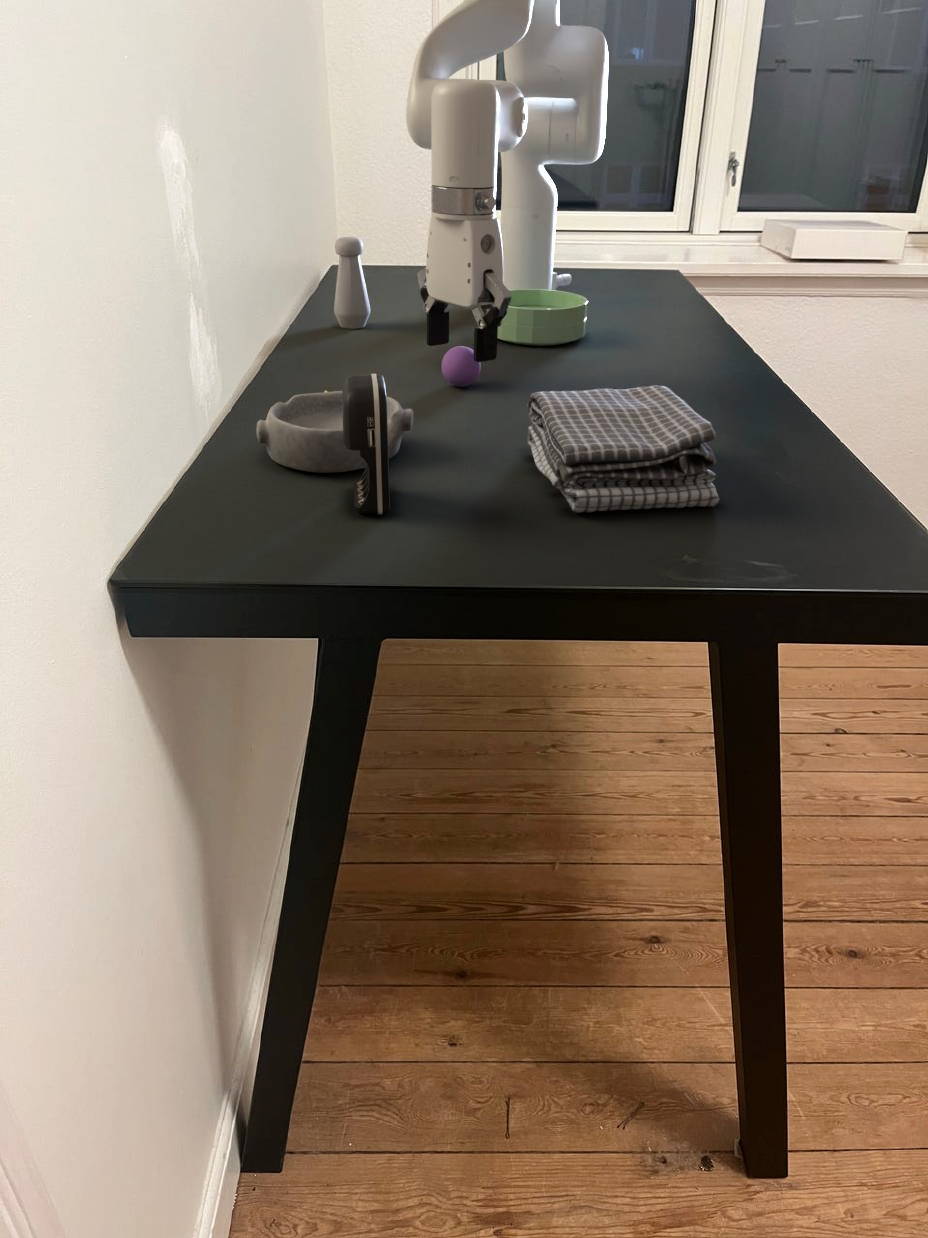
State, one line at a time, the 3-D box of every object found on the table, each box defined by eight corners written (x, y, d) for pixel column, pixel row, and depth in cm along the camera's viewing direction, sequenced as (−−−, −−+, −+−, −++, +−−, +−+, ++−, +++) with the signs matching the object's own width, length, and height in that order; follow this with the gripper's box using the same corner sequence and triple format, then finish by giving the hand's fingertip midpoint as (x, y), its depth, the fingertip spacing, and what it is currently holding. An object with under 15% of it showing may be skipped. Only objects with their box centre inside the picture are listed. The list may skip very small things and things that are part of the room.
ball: (464, 378, 120) (465, 339, 118) (488, 387, 117) (489, 347, 114) (433, 384, 118) (433, 344, 115) (457, 393, 114) (457, 353, 112)
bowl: (539, 320, 150) (541, 285, 148) (605, 338, 140) (608, 301, 137) (466, 332, 142) (466, 295, 140) (530, 352, 132) (532, 313, 129)
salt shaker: (374, 322, 147) (371, 235, 140) (367, 330, 142) (364, 241, 136) (338, 320, 148) (334, 234, 141) (330, 329, 143) (325, 239, 136)
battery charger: (346, 488, 87) (340, 369, 81) (386, 487, 88) (382, 368, 82) (347, 519, 81) (340, 392, 75) (390, 517, 82) (386, 391, 76)
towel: (656, 444, 99) (665, 372, 95) (721, 512, 84) (736, 429, 80) (519, 449, 97) (523, 376, 93) (560, 520, 82) (567, 435, 78)
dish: (425, 444, 98) (424, 398, 96) (359, 488, 87) (356, 437, 85) (311, 423, 103) (308, 380, 101) (235, 463, 92) (229, 414, 90)
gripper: (536, 208, 102) (528, 362, 111) (445, 195, 114) (443, 335, 123) (484, 212, 98) (480, 371, 107) (395, 197, 110) (397, 342, 119)
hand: (460, 352), depth 115 cm, fingers open, 9 cm apart
